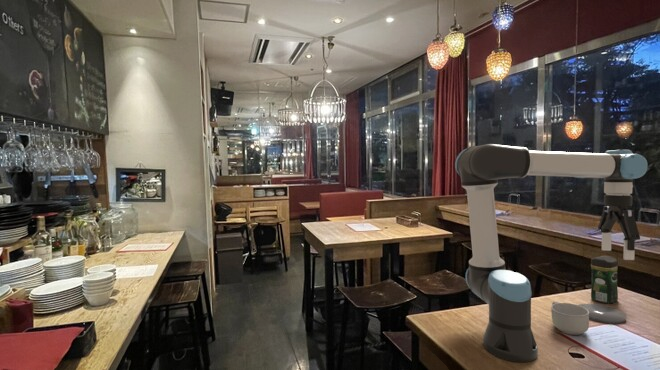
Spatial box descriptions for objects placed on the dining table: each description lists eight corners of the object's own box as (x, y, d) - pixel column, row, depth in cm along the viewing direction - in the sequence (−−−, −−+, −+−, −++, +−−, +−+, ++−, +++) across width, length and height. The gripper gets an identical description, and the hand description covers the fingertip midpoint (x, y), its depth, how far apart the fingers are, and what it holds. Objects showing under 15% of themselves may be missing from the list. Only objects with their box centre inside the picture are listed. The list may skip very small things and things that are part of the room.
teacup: (596, 339, 111) (596, 315, 111) (559, 337, 113) (559, 313, 113) (574, 321, 125) (574, 299, 124) (541, 319, 127) (542, 298, 127)
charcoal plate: (596, 324, 122) (596, 320, 122) (567, 307, 137) (567, 304, 136) (636, 322, 122) (637, 318, 122) (603, 306, 137) (603, 303, 137)
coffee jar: (598, 295, 149) (599, 253, 149) (620, 300, 142) (621, 256, 142) (587, 299, 145) (587, 256, 144) (609, 305, 138) (609, 260, 137)
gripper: (655, 197, 106) (654, 264, 106) (610, 192, 130) (609, 247, 131) (627, 197, 107) (625, 263, 108) (587, 192, 132) (587, 246, 132)
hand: (616, 254), depth 119 cm, fingers open, 13 cm apart
